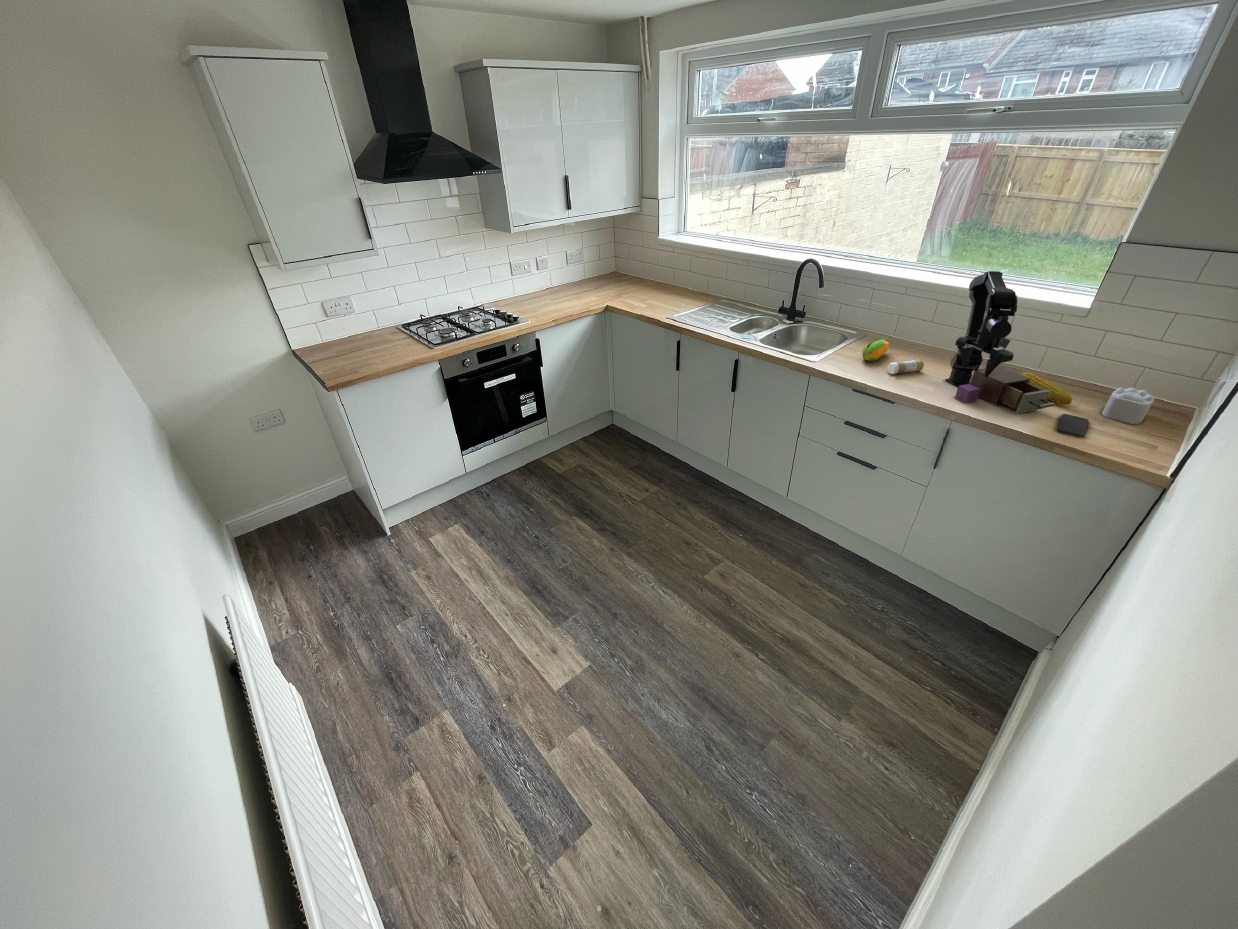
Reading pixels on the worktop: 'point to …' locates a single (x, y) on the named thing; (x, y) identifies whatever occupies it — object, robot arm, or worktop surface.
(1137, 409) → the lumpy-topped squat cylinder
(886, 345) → the corn
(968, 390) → the block
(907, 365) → the sprinkles bottle
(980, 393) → the cabinet
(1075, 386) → the worktop surface
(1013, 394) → the drawer
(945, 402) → the worktop surface
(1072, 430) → the phone
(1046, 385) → the food
